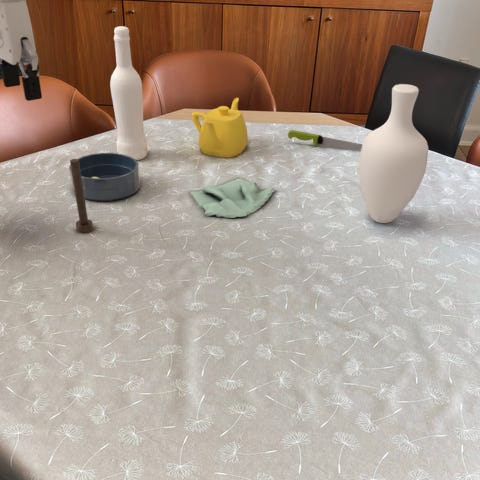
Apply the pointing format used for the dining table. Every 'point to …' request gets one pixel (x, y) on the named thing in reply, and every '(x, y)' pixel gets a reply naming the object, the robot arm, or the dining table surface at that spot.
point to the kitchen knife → (324, 141)
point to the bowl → (108, 176)
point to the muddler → (80, 199)
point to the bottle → (127, 100)
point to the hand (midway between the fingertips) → (23, 92)
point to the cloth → (232, 199)
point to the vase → (393, 159)
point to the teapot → (222, 131)
